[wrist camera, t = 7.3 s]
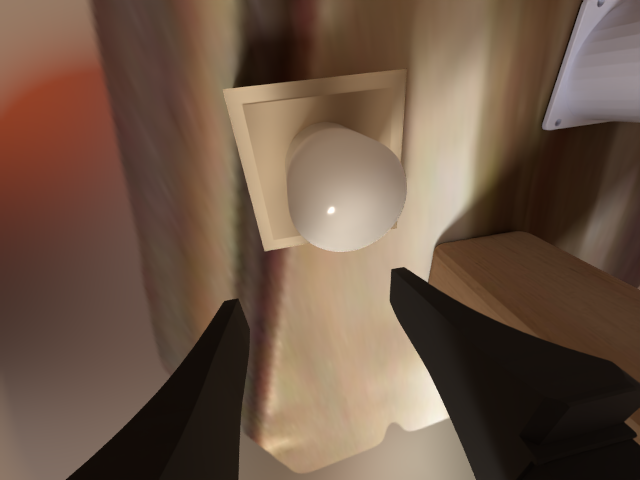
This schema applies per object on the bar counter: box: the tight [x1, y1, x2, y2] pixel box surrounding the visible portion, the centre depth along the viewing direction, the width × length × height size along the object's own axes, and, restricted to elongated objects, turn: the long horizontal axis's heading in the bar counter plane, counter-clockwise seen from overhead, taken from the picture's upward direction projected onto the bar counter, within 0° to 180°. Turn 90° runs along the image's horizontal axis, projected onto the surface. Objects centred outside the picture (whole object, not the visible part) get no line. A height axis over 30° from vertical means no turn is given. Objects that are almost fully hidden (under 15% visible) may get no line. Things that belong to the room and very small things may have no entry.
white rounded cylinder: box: [285, 122, 407, 252], centre depth 13 cm, size 5×5×6 cm
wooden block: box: [428, 231, 640, 445], centre depth 18 cm, size 10×10×20 cm
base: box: [223, 69, 407, 251], centre depth 17 cm, size 10×10×3 cm
